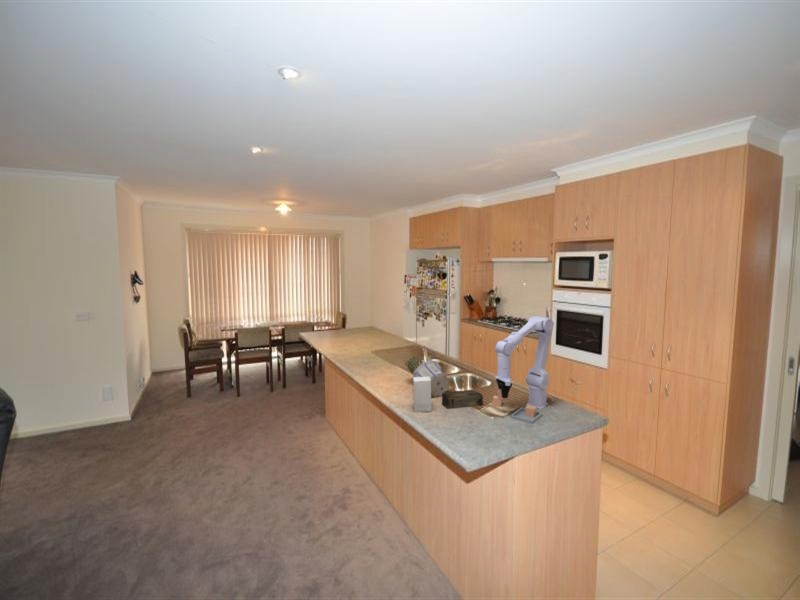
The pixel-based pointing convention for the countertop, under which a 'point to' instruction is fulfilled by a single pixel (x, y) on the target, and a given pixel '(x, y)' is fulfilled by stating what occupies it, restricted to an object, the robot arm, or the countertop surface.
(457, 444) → the countertop surface
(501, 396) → the chunk
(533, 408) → the chunk
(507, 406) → the birch tray
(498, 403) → the chunk
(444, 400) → the beverage carton
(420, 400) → the skincare box
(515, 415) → the slate dish
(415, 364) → the potted plant
